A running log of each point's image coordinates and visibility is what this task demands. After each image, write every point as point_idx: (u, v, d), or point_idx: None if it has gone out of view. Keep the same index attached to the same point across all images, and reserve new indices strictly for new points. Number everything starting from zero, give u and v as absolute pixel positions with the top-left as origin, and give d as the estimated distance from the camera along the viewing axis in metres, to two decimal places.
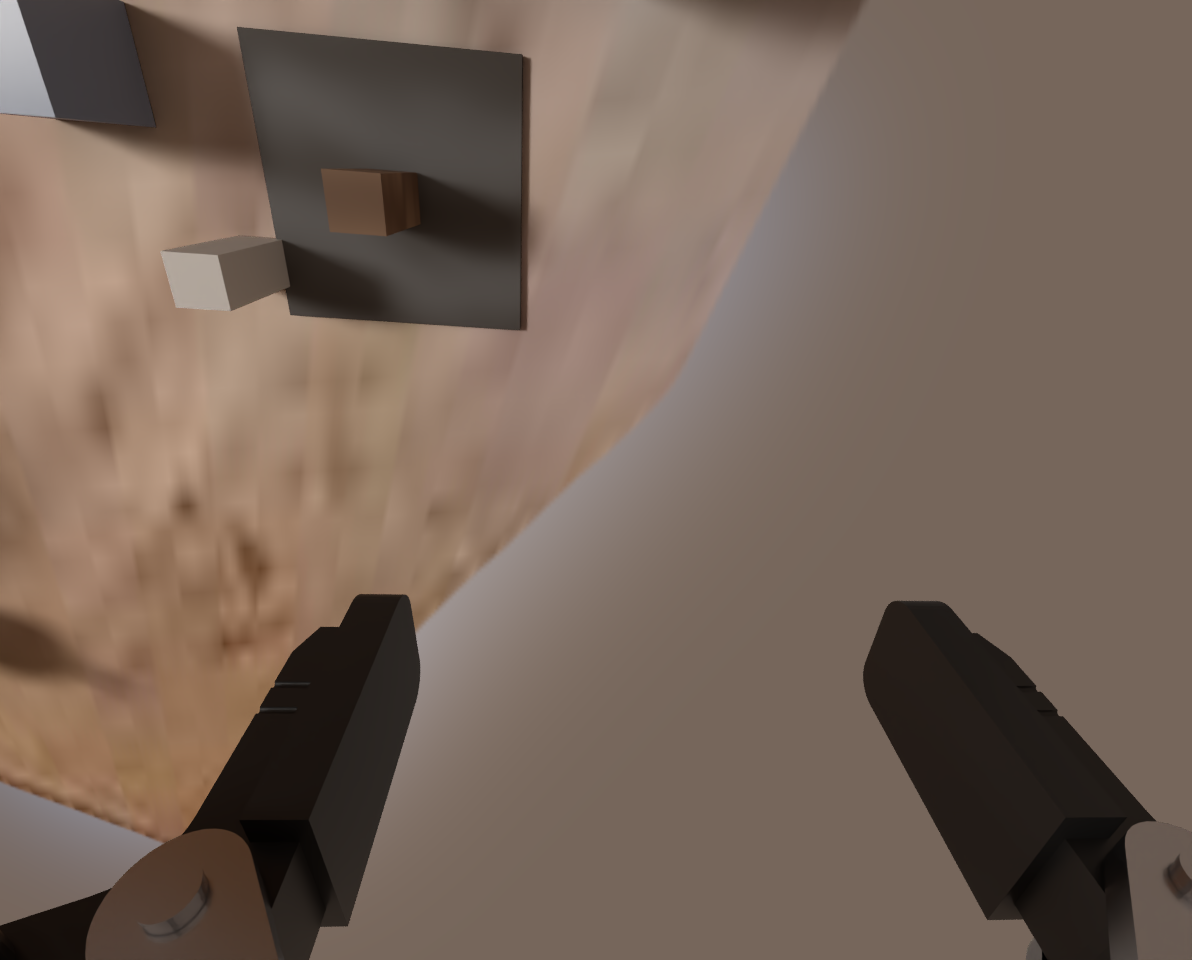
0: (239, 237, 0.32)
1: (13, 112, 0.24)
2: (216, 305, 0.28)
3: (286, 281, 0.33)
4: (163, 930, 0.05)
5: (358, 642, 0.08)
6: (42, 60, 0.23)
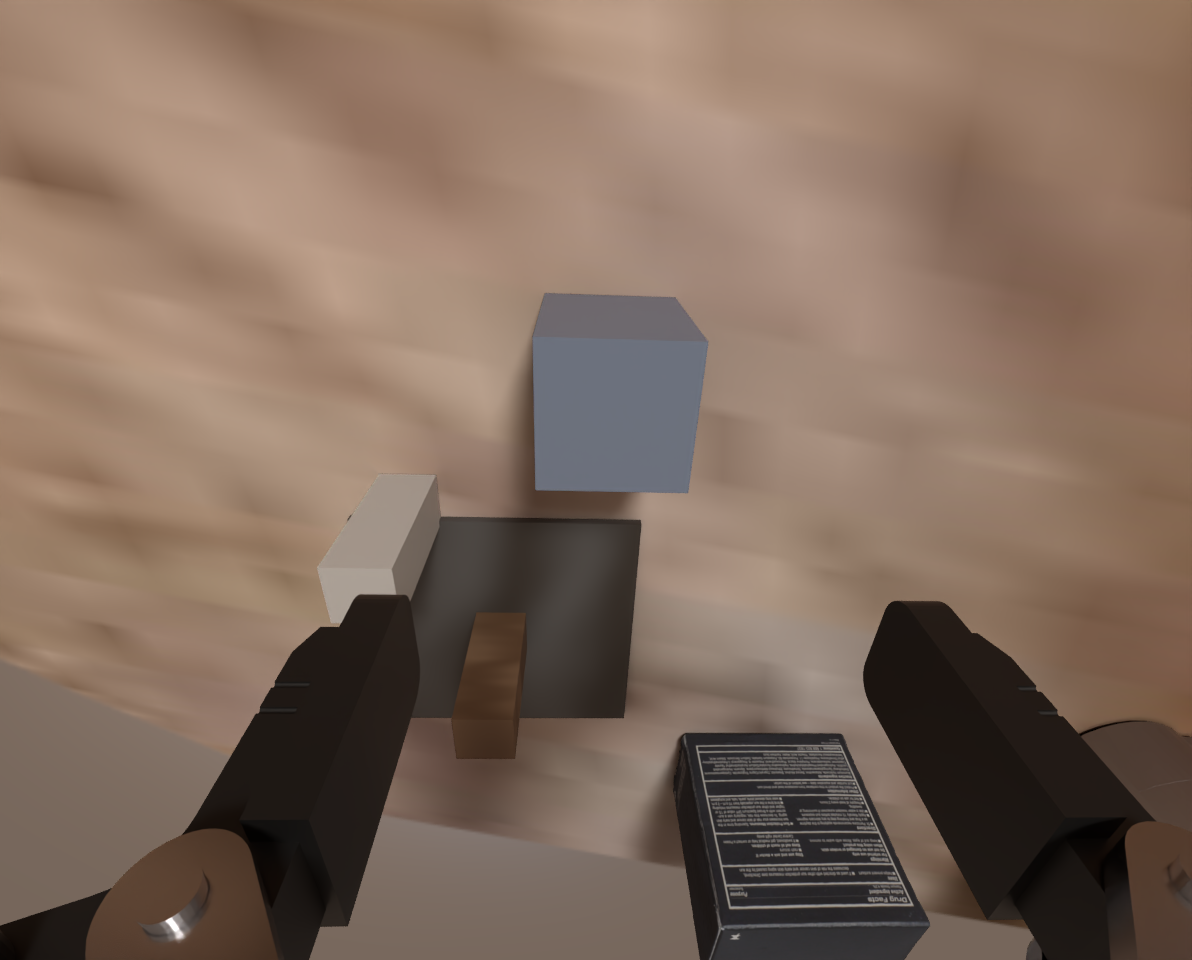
0: (433, 491, 0.26)
1: (536, 444, 0.18)
2: (334, 609, 0.21)
3: None
4: (163, 930, 0.05)
5: (358, 642, 0.08)
6: (595, 487, 0.19)
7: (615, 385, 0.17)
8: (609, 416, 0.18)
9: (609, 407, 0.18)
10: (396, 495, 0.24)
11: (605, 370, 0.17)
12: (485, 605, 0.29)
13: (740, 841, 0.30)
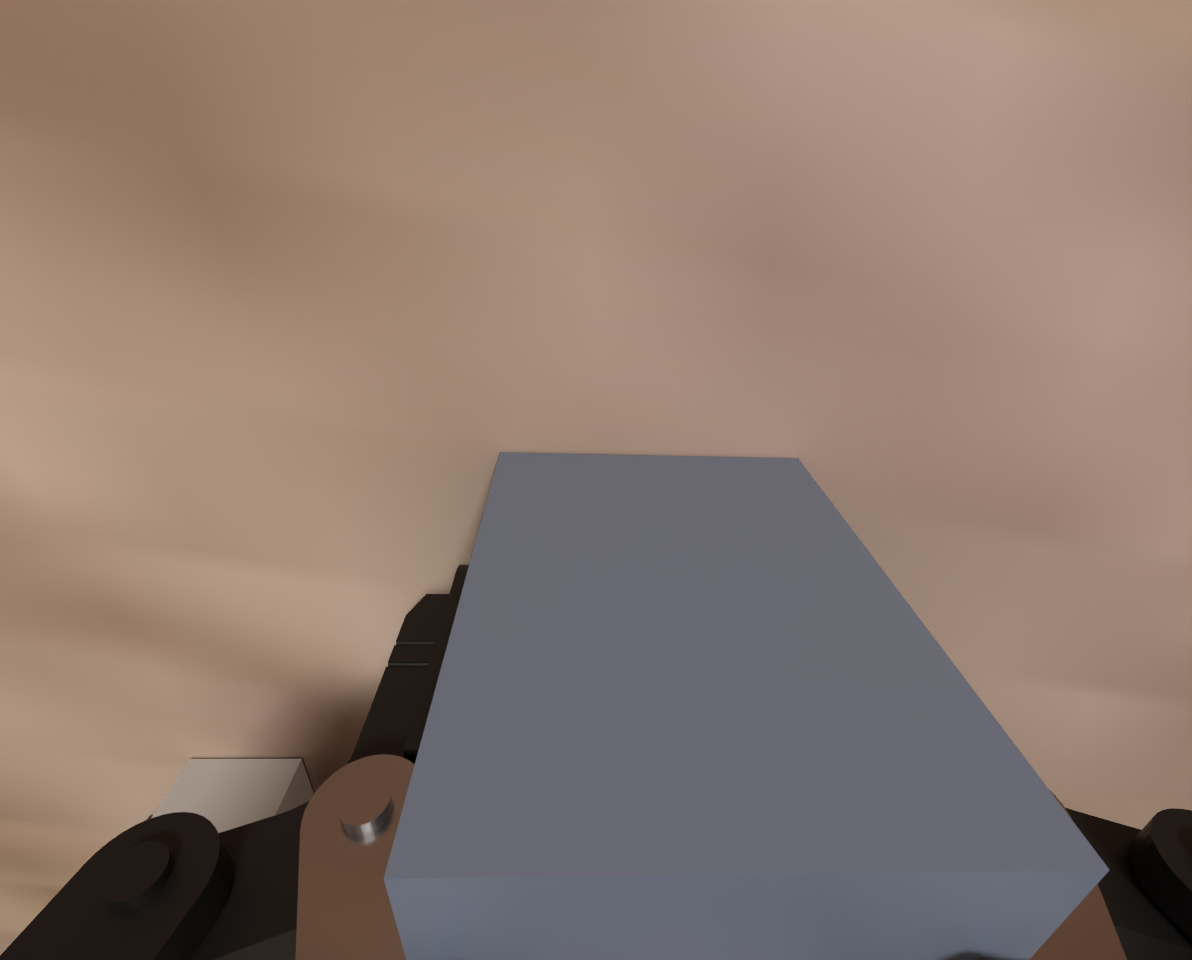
0: (291, 800, 0.13)
1: None
2: None
3: None
4: (366, 833, 0.05)
5: None
6: None
7: None
8: None
9: None
10: None
11: (683, 940, 0.04)
12: None
13: None
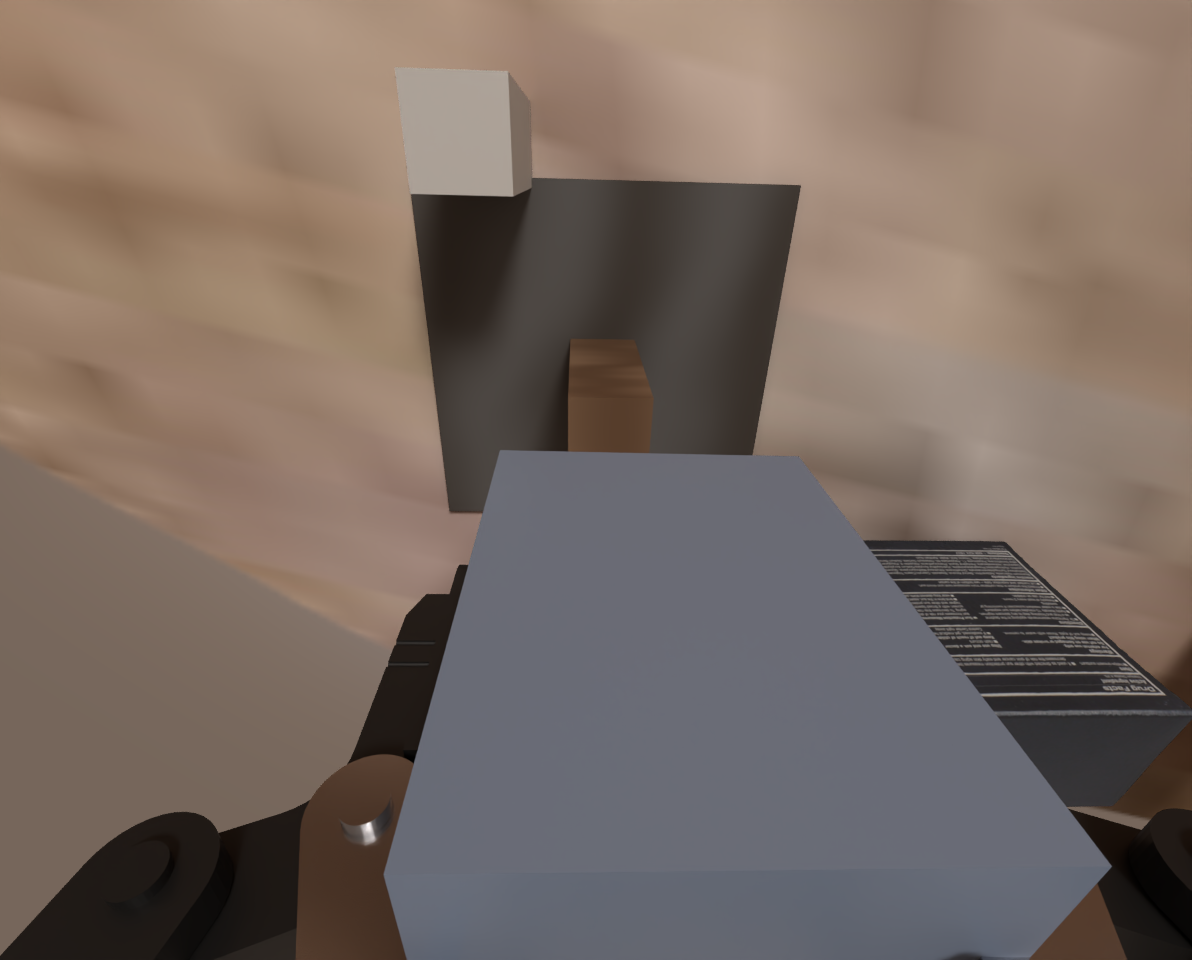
0: (529, 114, 0.19)
1: None
2: (415, 165, 0.14)
3: None
4: (366, 833, 0.05)
5: None
6: None
7: None
8: None
9: None
10: None
11: (684, 937, 0.04)
12: (582, 327, 0.23)
13: None
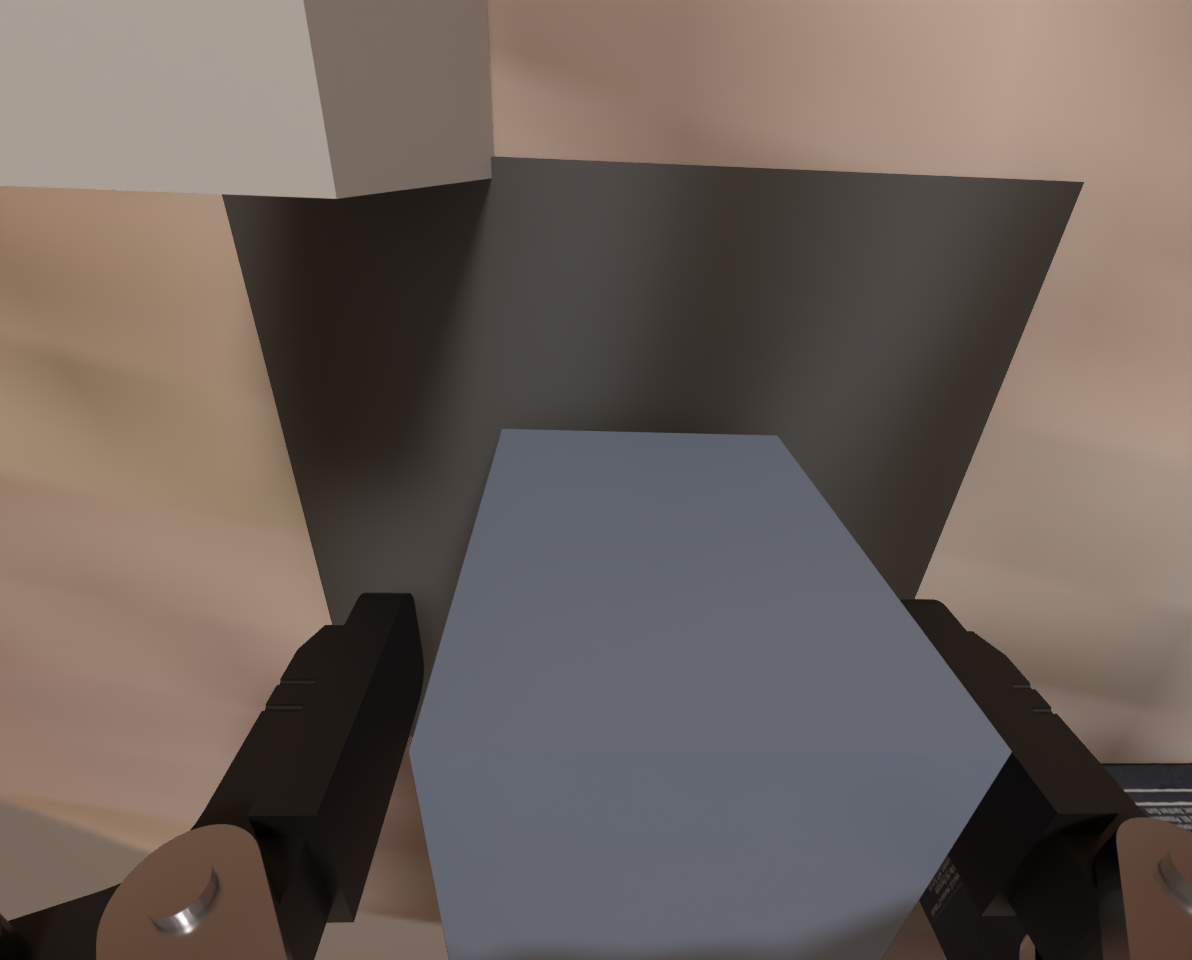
0: None
1: (451, 946, 0.06)
2: None
3: None
4: (172, 925, 0.05)
5: (363, 640, 0.08)
6: None
7: (686, 846, 0.05)
8: (663, 899, 0.06)
9: (665, 883, 0.06)
10: None
11: (658, 818, 0.05)
12: None
13: None
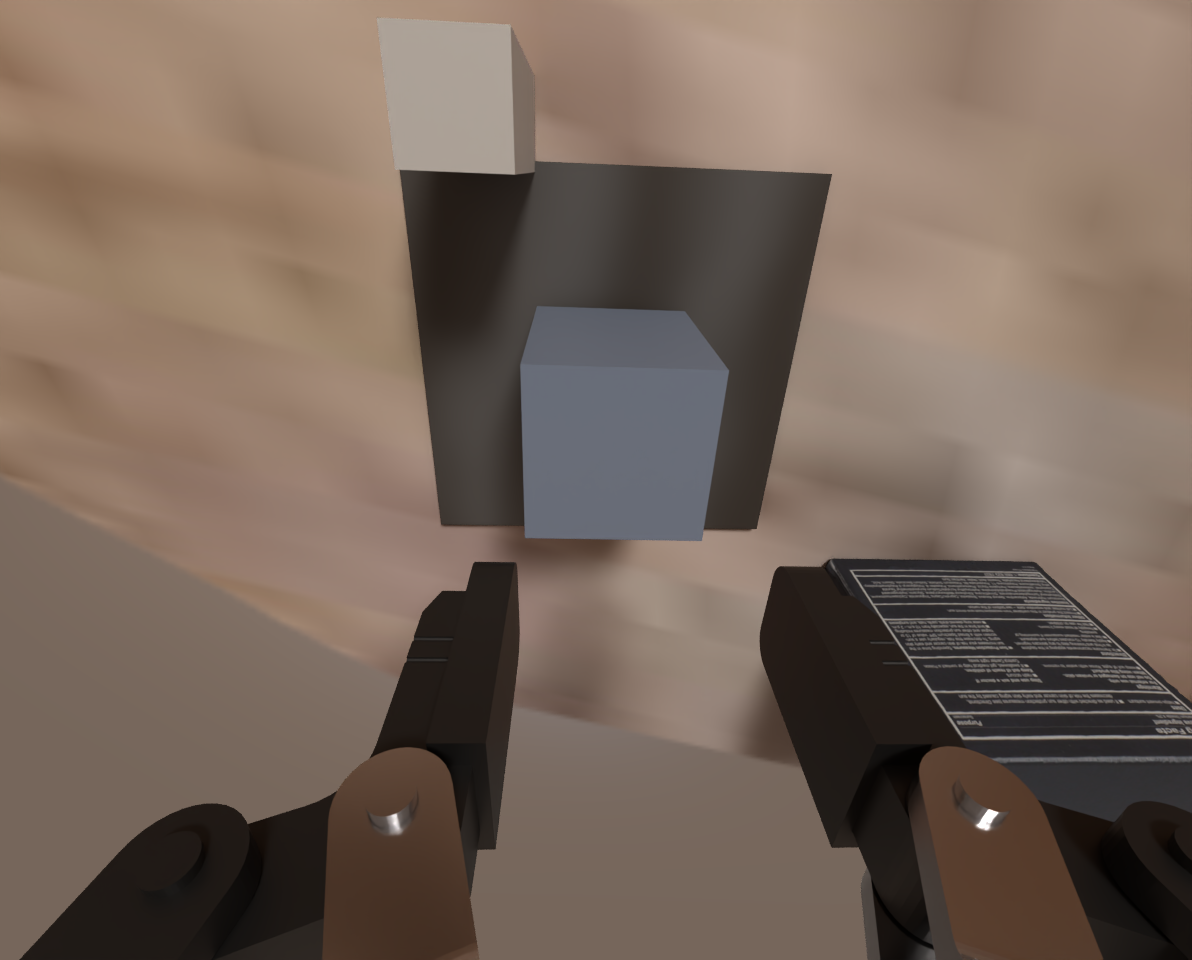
0: (532, 89, 0.17)
1: (525, 487, 0.16)
2: (401, 135, 0.12)
3: None
4: (393, 824, 0.05)
5: (487, 601, 0.09)
6: (594, 533, 0.17)
7: (617, 421, 0.15)
8: (611, 455, 0.15)
9: (611, 445, 0.15)
10: None
11: (606, 403, 0.14)
12: None
13: (947, 665, 0.21)
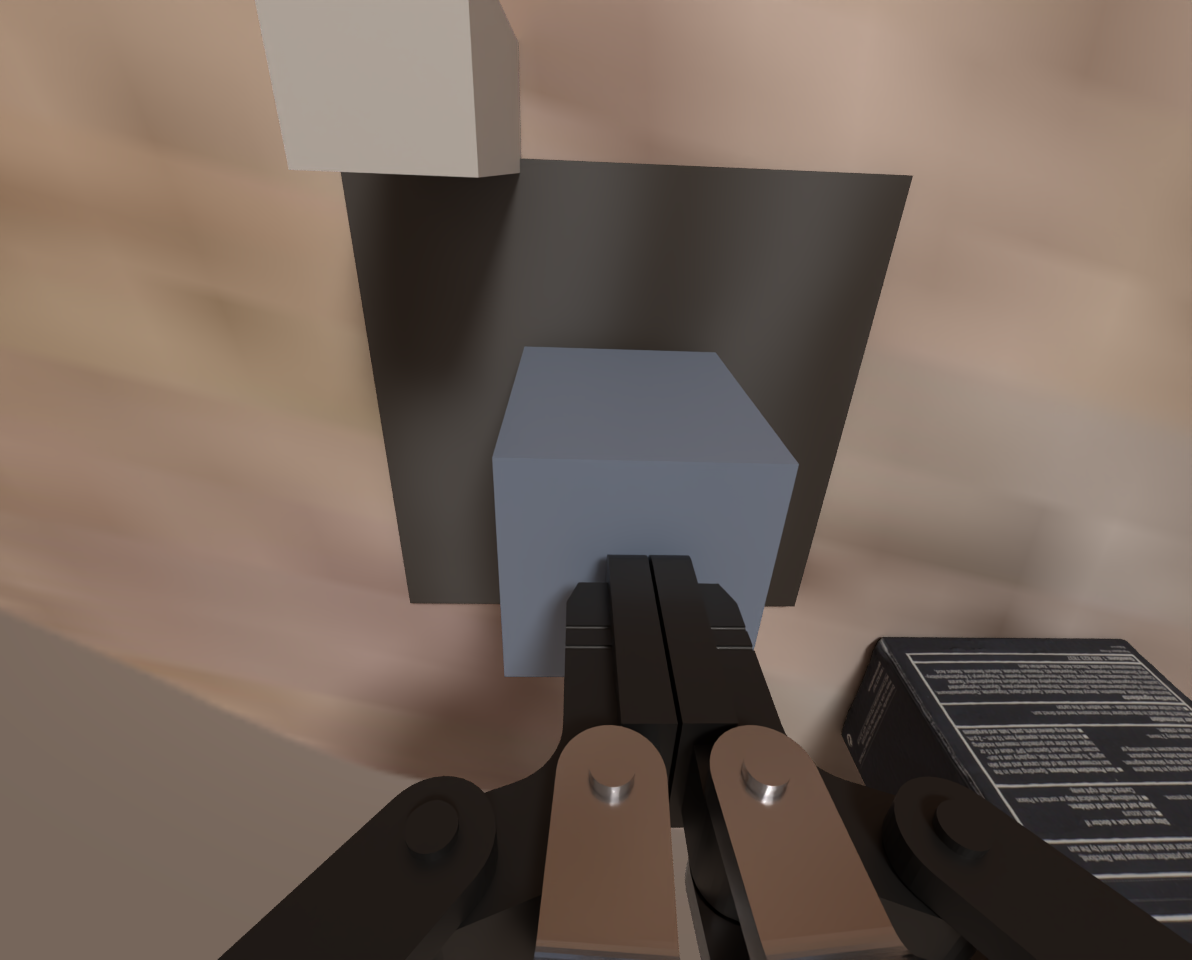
0: (515, 59, 0.12)
1: (504, 615, 0.11)
2: (295, 115, 0.07)
3: None
4: (623, 797, 0.06)
5: (634, 592, 0.09)
6: None
7: (635, 531, 0.10)
8: None
9: None
10: None
11: (619, 508, 0.10)
12: None
13: (1046, 798, 0.17)
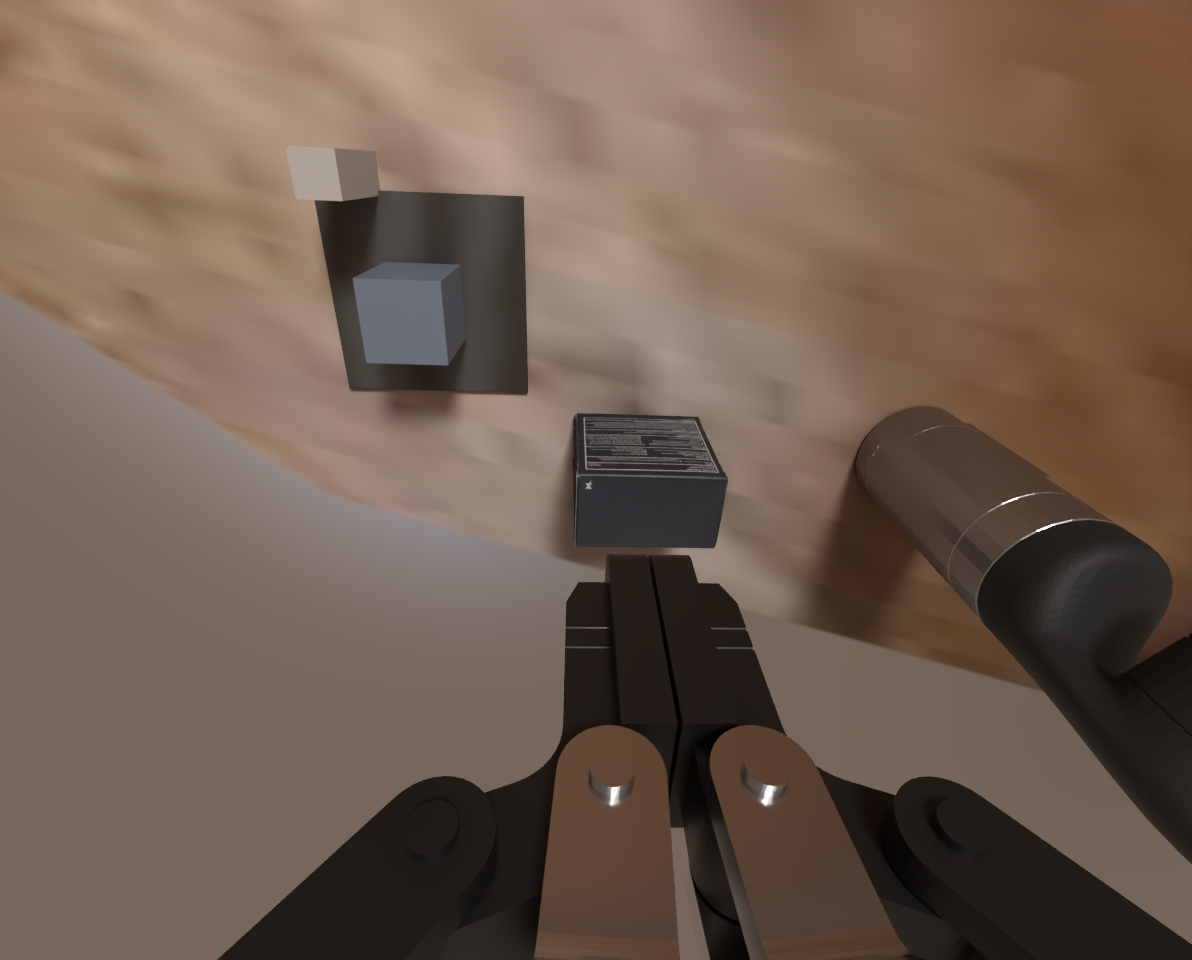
0: (371, 158, 0.36)
1: (363, 336, 0.35)
2: (297, 186, 0.32)
3: None
4: (622, 796, 0.06)
5: (634, 592, 0.09)
6: (399, 362, 0.36)
7: (398, 304, 0.34)
8: (398, 321, 0.35)
9: (397, 316, 0.35)
10: None
11: (391, 296, 0.34)
12: None
13: (603, 449, 0.41)
